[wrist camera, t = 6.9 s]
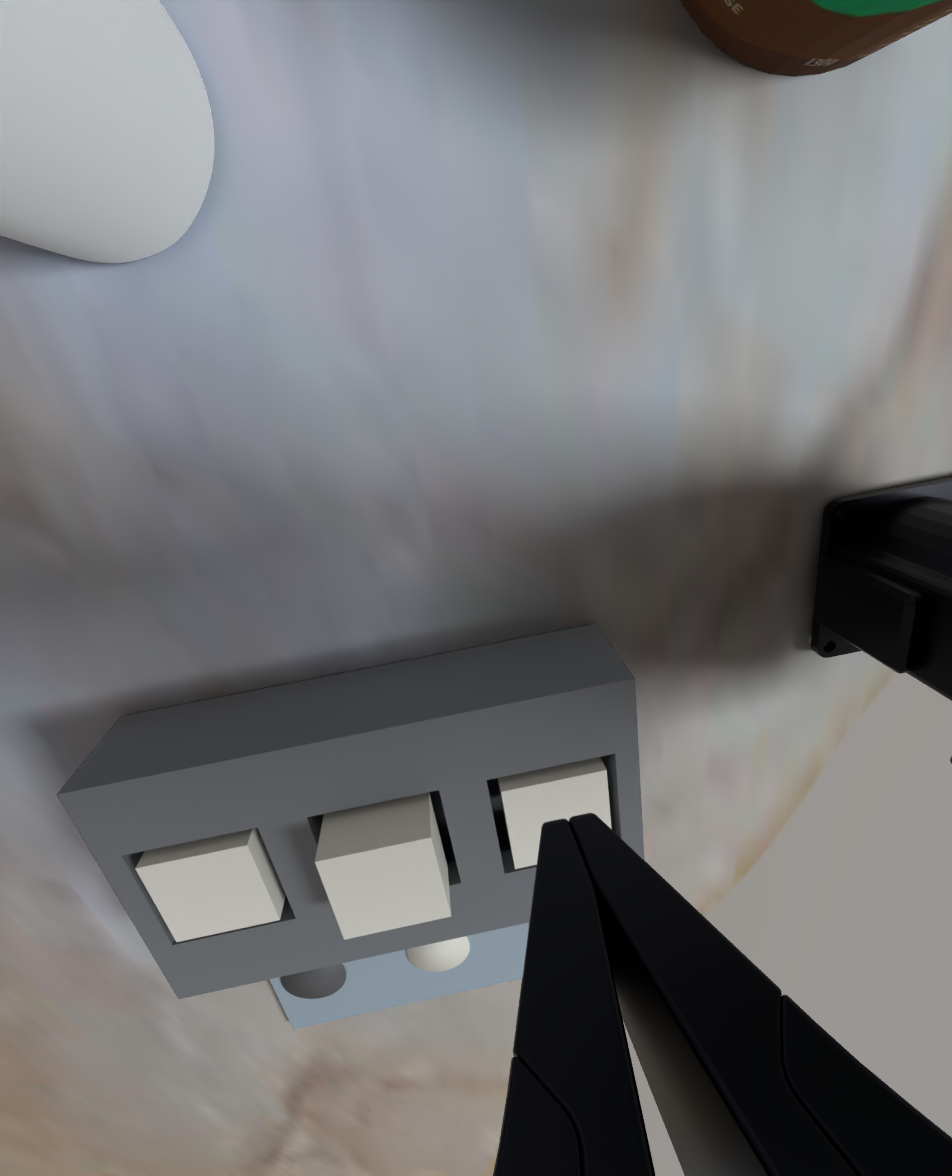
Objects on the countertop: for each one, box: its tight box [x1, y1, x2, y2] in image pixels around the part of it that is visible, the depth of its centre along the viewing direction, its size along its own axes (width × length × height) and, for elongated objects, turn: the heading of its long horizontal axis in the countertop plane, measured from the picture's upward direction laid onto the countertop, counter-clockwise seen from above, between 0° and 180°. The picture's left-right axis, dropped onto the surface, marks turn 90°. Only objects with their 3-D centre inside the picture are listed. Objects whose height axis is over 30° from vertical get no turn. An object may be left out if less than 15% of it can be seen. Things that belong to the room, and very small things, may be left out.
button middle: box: [315, 792, 451, 940], centre depth 18 cm, size 4×4×2 cm
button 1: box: [135, 828, 286, 942], centre depth 19 cm, size 4×4×2 cm
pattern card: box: [269, 923, 529, 1029], centre depth 26 cm, size 16×7×1 cm, turn 99°
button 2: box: [497, 757, 612, 869], centre depth 20 cm, size 4×4×2 cm
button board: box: [57, 624, 644, 999], centre depth 21 cm, size 18×10×4 cm, turn 99°
